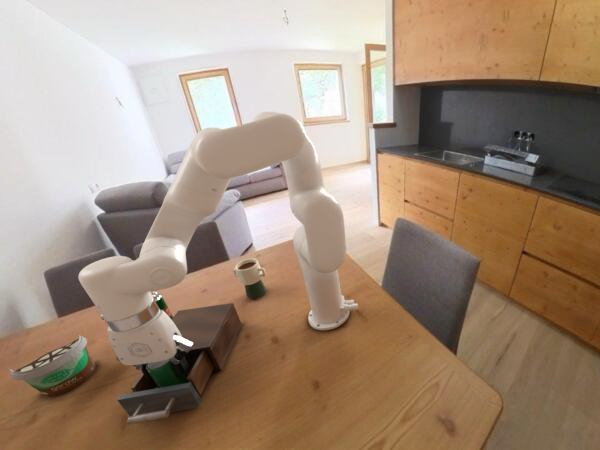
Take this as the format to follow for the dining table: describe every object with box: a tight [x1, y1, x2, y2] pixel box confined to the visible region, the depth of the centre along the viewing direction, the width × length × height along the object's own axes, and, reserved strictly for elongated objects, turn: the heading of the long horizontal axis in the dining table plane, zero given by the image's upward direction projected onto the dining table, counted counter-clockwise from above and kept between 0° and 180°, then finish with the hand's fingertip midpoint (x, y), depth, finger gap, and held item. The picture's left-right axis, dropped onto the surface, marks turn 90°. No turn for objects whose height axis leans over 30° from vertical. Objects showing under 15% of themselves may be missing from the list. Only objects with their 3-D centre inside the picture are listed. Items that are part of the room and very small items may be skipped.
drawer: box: [116, 350, 215, 425], centre depth 64 cm, size 18×14×7 cm
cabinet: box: [172, 302, 243, 373], centre depth 75 cm, size 16×15×9 cm
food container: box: [9, 334, 96, 397], centre depth 68 cm, size 12×6×10 cm, turn 148°
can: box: [146, 354, 189, 388], centre depth 64 cm, size 5×5×9 cm
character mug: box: [232, 257, 267, 300], centre depth 95 cm, size 11×7×13 cm, turn 88°
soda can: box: [151, 291, 174, 320], centre depth 83 cm, size 5×5×12 cm
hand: (169, 373), depth 64 cm, fingers closed on can, 5 cm apart
